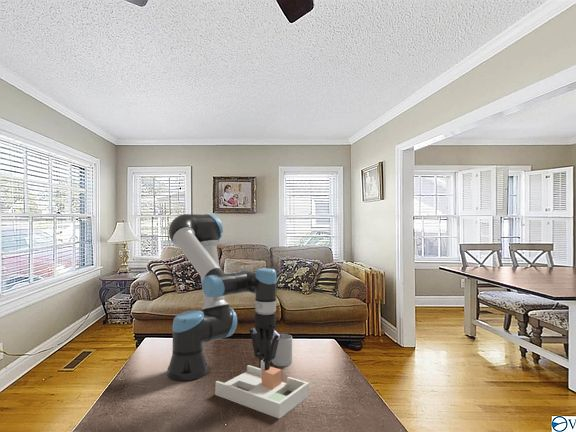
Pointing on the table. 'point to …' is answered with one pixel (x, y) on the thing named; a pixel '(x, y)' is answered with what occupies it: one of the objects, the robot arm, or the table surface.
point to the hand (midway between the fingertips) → (264, 378)
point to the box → (263, 393)
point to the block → (271, 377)
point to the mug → (283, 351)
